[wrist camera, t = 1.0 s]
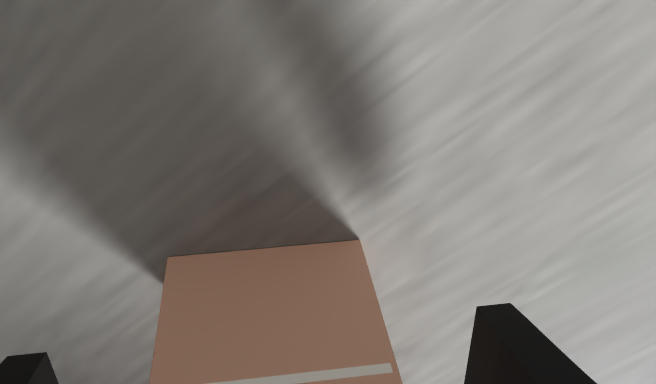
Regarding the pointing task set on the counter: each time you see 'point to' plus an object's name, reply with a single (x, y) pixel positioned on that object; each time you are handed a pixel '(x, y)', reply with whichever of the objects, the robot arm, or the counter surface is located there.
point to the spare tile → (272, 319)
